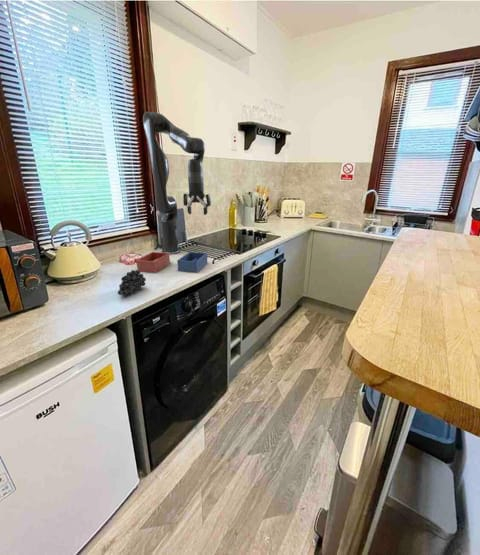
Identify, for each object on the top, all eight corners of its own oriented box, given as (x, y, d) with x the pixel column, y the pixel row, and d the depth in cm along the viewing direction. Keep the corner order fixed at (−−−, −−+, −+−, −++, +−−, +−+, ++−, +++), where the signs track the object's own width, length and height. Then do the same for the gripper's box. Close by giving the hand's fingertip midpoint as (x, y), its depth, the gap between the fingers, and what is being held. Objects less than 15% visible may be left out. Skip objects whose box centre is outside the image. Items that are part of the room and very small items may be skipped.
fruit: (120, 279, 104) (143, 265, 117) (104, 283, 107) (129, 269, 120) (130, 299, 106) (151, 283, 120) (114, 302, 110) (137, 287, 123)
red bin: (137, 270, 139) (136, 260, 137) (153, 261, 152) (152, 251, 150) (155, 272, 136) (154, 261, 134) (170, 262, 150) (169, 253, 148)
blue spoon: (192, 270, 138) (191, 265, 137) (184, 269, 139) (184, 264, 138) (200, 263, 148) (200, 258, 147) (193, 262, 149) (193, 257, 148)
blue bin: (178, 270, 139) (177, 260, 137) (190, 261, 152) (189, 251, 150) (196, 272, 136) (196, 261, 134) (207, 263, 150) (207, 253, 148)
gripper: (211, 181, 139) (212, 213, 145) (186, 181, 142) (188, 212, 149) (206, 182, 132) (207, 216, 139) (179, 181, 136) (182, 214, 142)
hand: (197, 214), depth 144 cm, fingers open, 8 cm apart
